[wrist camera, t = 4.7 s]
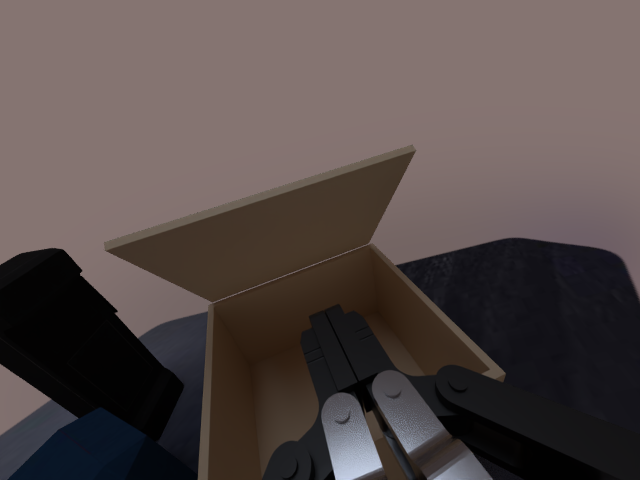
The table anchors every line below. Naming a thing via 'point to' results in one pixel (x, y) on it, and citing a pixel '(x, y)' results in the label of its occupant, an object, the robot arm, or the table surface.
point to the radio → (102, 454)
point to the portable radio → (78, 344)
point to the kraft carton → (290, 365)
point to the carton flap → (269, 229)
